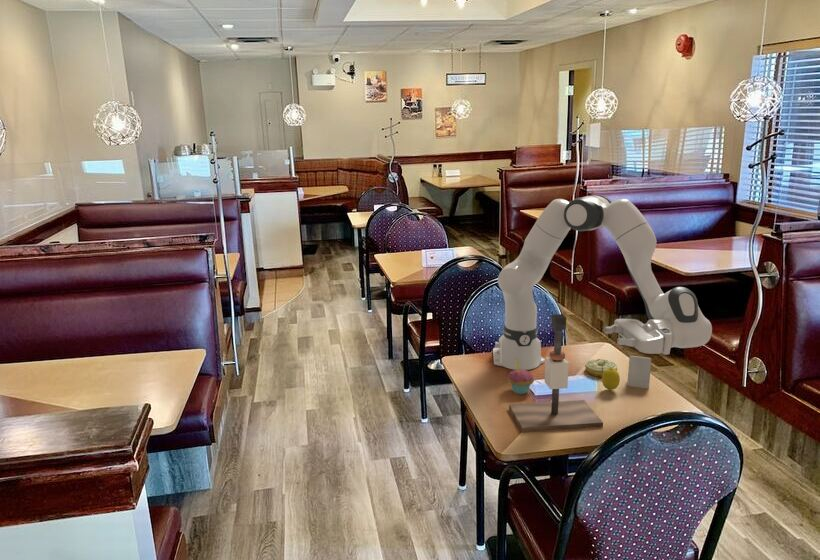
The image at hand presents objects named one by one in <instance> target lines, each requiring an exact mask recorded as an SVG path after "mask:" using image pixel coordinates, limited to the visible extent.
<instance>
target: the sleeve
mask: <svg viewBox="0 0 820 560" xmlns="http://www.w3.org/2000/svg"><path fill="white" fill-rule="evenodd" d="M544 363H545V365H544V367H545V368H544V384H546V386H547V387H548V389H549V390H552V389H559V390H560V389H561V390H562V389H568V383H569V382H568V381H569V367H570V366H569V365H570V362H569V361H568V360H567V359H566V358H565V359H563V360H561V362H554V360H553V359H551V358H550V356H546V357H545V362H544Z"/></svg>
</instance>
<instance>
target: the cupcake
mask: <svg viewBox="0 0 820 560" xmlns="http://www.w3.org/2000/svg"><path fill="white" fill-rule="evenodd" d="M516 367H517V369H516V370H514V369H512V370H511V371H510V372H509V373H508V375H507V381H508V383H509V384H510V385H511V388H512V391H513V392H514V393H515V394H519V395H523V394H524V395H525V394H527V393H528V392H529V389H530V386H531V385H532V384H533V383H535V378H534V375H533V373H532V372H530V371H529V370H523V369H519V366H518V360H517V358H516Z"/></svg>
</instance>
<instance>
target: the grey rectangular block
mask: <svg viewBox="0 0 820 560" xmlns="http://www.w3.org/2000/svg"><path fill="white" fill-rule="evenodd" d="M628 360H629V361H628V371H627V383H626V384H627V387H634V388H641V389H650V382H651V381H650V380H651V370H652V358H651V357H647V356H646V357H645V356H635V355H629V359H628Z"/></svg>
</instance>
